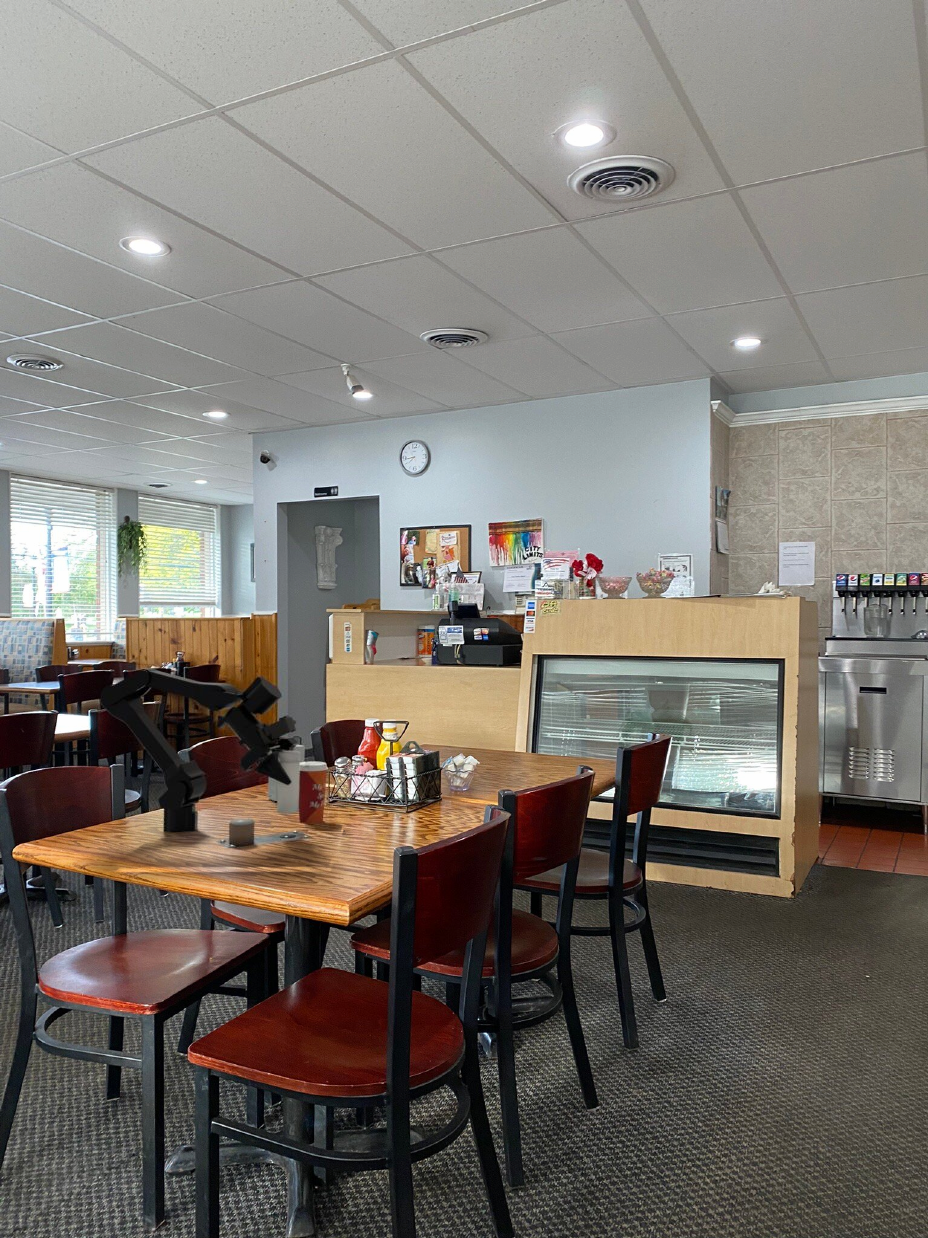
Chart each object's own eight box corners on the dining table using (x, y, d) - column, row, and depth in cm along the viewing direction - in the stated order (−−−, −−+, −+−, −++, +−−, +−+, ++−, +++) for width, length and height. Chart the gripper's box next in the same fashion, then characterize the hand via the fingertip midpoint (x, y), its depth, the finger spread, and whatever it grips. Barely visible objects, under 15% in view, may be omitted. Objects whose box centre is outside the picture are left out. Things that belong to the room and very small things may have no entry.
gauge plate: (228, 852, 183) (229, 847, 183) (215, 845, 189) (215, 839, 189) (313, 841, 194) (313, 836, 194) (298, 834, 200) (298, 829, 200)
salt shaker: (277, 814, 192) (279, 753, 192) (276, 810, 196) (277, 750, 196) (299, 813, 193) (301, 753, 193) (298, 809, 197) (299, 750, 198)
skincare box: (276, 802, 239) (277, 746, 239) (267, 799, 244) (268, 744, 244) (304, 799, 244) (305, 745, 244) (295, 796, 249) (296, 742, 249)
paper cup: (320, 825, 210) (321, 766, 210) (289, 824, 211) (290, 764, 212) (332, 819, 218) (332, 761, 218) (302, 817, 219) (303, 760, 219)
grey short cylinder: (226, 845, 186) (226, 823, 186) (231, 839, 191) (231, 818, 191) (251, 845, 186) (252, 823, 186) (256, 839, 191) (256, 818, 191)
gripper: (254, 707, 187) (303, 762, 184) (290, 701, 205) (335, 752, 202) (219, 743, 188) (266, 798, 186) (258, 734, 206) (301, 784, 204)
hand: (294, 782), depth 194 cm, fingers closed on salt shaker, 5 cm apart
